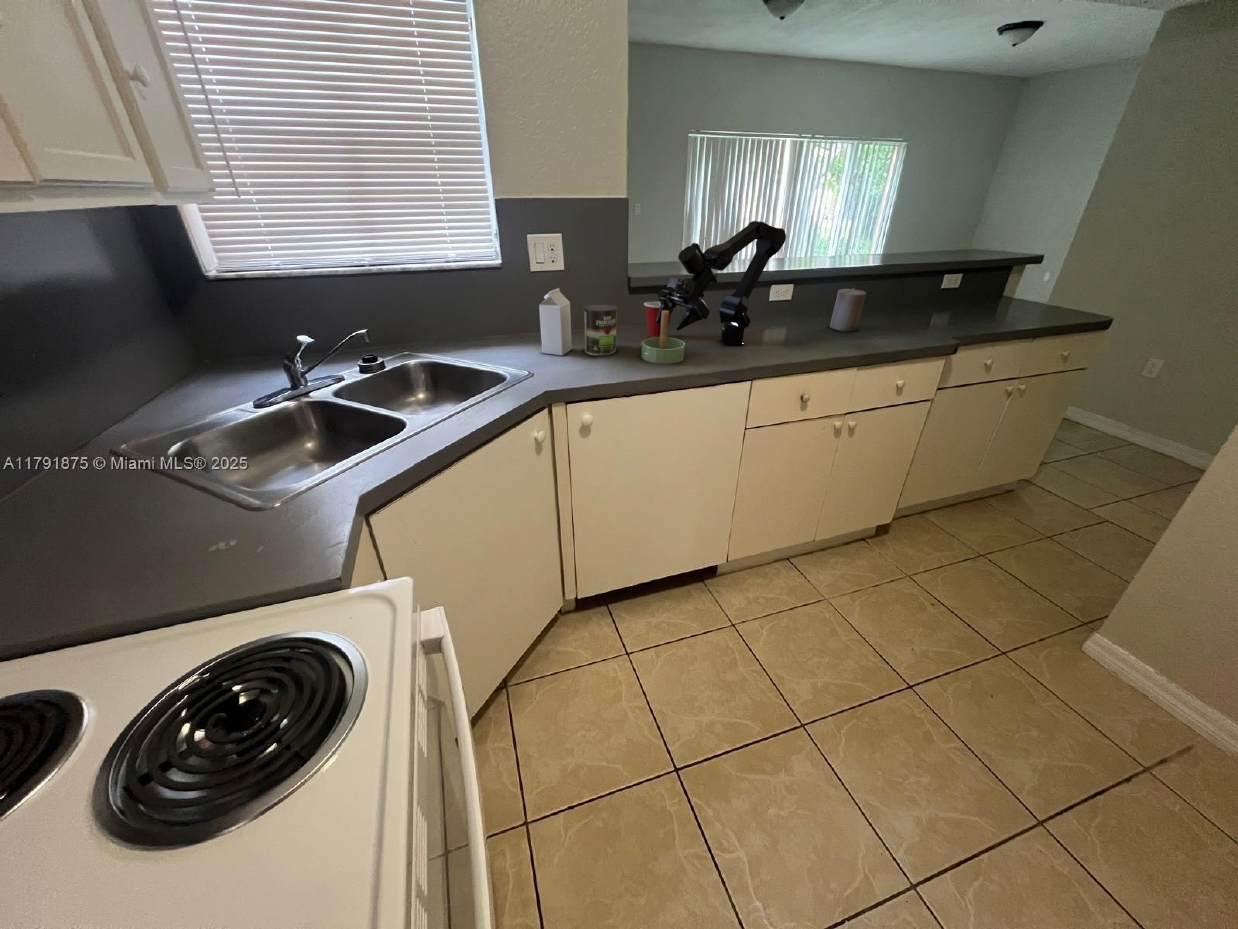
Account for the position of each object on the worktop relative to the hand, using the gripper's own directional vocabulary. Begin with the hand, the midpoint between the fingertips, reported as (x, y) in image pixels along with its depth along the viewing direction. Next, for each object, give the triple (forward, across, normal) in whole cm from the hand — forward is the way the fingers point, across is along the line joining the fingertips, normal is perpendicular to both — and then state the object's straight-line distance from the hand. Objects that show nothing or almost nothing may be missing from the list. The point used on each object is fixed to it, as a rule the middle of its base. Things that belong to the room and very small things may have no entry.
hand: (666, 326), depth 147 cm
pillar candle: (-51, +10, +65) cm, 83 cm away
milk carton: (+25, -24, -10) cm, 36 cm away
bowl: (+8, 0, +6) cm, 10 cm away
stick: (+7, 0, +6) cm, 9 cm away
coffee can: (+16, -17, -2) cm, 23 cm away
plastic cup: (-2, -19, +16) cm, 25 cm away
